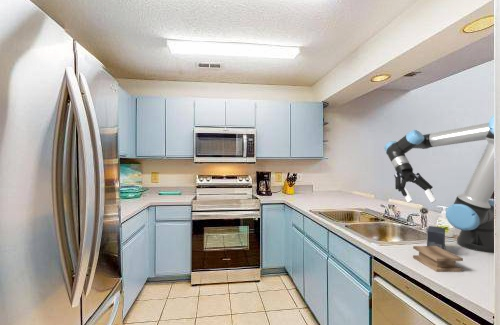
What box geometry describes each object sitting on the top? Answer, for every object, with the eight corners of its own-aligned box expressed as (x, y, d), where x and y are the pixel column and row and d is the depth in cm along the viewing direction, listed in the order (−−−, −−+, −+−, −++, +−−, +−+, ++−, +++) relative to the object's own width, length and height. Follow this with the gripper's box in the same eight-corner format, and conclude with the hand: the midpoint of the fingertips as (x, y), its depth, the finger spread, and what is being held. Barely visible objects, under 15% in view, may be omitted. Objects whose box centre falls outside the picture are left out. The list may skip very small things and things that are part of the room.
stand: (436, 257, 106) (436, 245, 106) (462, 271, 93) (462, 258, 93) (413, 257, 106) (413, 246, 106) (436, 271, 93) (436, 258, 93)
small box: (428, 246, 119) (428, 225, 119) (445, 250, 115) (445, 227, 115) (426, 253, 111) (426, 230, 111) (444, 257, 107) (445, 233, 107)
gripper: (417, 171, 139) (437, 205, 127) (377, 169, 135) (395, 205, 122) (426, 163, 134) (449, 198, 121) (386, 161, 129) (405, 197, 116)
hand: (422, 201), depth 121 cm, fingers open, 13 cm apart
